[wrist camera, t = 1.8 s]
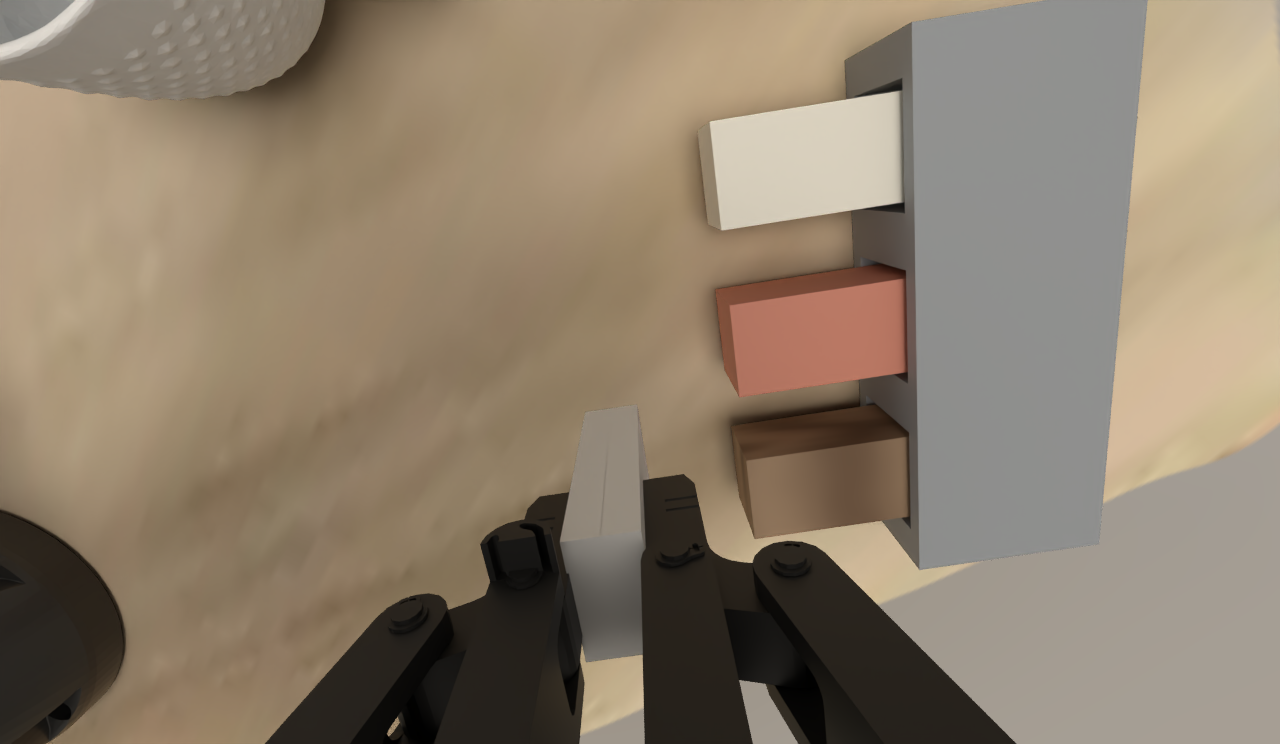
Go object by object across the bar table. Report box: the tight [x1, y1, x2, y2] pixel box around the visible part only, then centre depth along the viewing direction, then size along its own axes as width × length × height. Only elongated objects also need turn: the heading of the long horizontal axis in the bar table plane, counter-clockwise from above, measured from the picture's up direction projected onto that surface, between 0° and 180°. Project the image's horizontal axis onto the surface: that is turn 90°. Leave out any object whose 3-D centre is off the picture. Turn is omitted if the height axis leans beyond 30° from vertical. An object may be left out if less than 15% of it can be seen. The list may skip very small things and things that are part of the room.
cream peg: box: [697, 90, 905, 231], centre depth 25 cm, size 9×4×4 cm, turn 99°
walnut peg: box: [731, 404, 911, 539], centre depth 29 cm, size 9×4×4 cm, turn 99°
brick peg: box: [715, 263, 908, 397], centre depth 27 cm, size 9×4×4 cm, turn 99°
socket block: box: [845, 0, 1148, 570], centre depth 27 cm, size 8×22×6 cm, turn 9°
